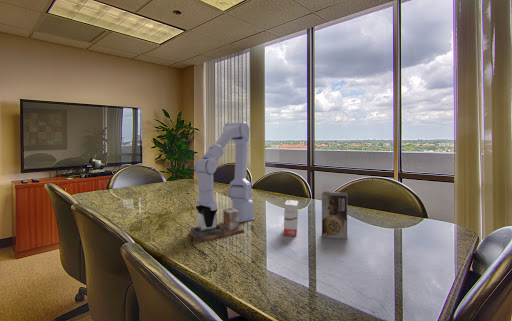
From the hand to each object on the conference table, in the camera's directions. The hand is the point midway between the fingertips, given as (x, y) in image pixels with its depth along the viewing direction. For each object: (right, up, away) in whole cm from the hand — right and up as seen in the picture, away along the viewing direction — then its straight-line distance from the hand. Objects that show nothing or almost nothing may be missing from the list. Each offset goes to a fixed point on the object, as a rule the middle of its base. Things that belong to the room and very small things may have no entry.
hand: (206, 225), depth 103 cm
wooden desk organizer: (+3, -4, +2) cm, 6 cm away
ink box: (+33, -4, +2) cm, 33 cm away
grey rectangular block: (0, -2, 0) cm, 2 cm away
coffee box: (+48, -4, -2) cm, 49 cm away
